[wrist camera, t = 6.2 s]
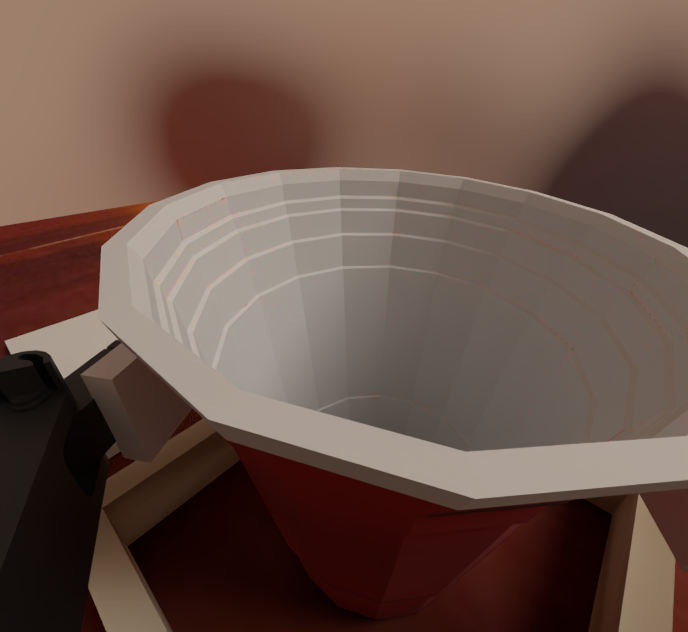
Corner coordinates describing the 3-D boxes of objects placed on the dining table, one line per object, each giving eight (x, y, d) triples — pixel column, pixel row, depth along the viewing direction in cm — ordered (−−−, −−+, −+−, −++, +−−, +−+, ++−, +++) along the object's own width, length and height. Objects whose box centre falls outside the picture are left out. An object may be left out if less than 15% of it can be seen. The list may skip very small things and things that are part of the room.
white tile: (9, 348, 22) (4, 340, 22) (205, 280, 31) (203, 274, 31) (73, 479, 15) (67, 471, 14) (310, 338, 24) (310, 331, 23)
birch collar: (86, 549, 12) (56, 510, 11) (354, 355, 22) (355, 323, 21) (523, 1533, 4) (617, 1876, 2) (646, 512, 13) (679, 473, 12)
